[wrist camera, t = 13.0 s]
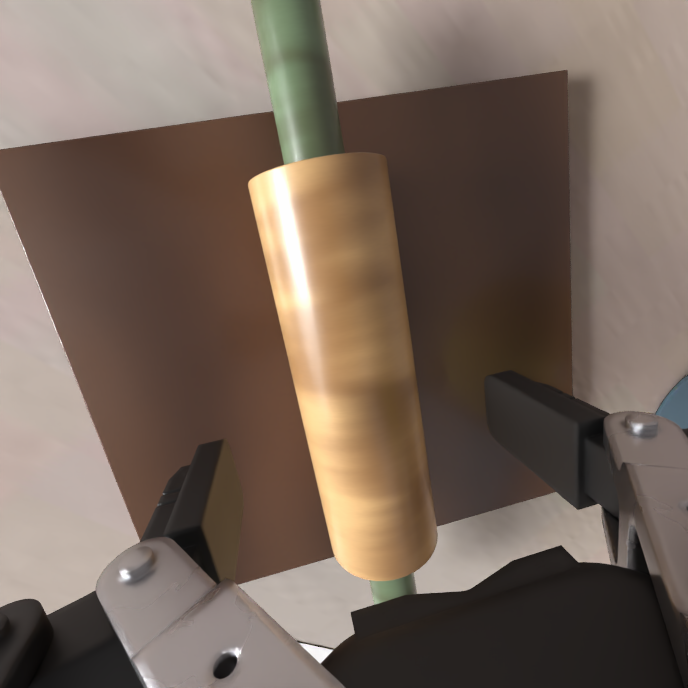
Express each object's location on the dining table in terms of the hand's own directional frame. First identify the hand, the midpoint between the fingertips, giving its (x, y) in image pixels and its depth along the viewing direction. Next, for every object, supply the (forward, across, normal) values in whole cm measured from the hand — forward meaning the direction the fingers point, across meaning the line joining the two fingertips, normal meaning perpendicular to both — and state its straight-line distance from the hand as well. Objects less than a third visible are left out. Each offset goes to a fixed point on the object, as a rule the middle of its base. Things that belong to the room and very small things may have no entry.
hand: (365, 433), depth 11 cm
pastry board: (+8, -1, 0) cm, 8 cm away
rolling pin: (+7, -1, 0) cm, 7 cm away
